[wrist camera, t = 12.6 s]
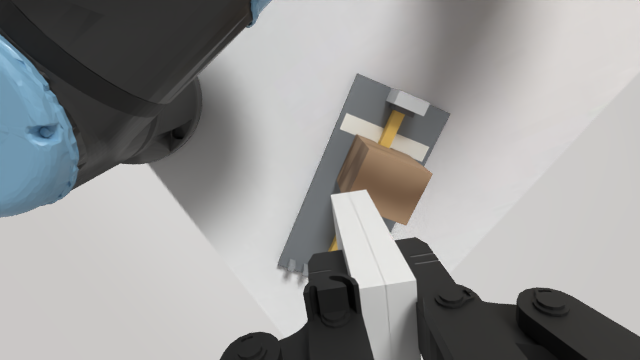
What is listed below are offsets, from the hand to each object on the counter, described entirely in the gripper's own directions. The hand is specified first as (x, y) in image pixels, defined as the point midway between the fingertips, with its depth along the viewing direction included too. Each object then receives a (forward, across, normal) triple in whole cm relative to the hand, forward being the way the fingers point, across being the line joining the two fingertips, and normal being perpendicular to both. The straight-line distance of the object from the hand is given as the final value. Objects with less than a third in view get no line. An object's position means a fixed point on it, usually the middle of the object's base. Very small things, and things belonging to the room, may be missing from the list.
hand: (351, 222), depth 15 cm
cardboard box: (+27, +6, -6) cm, 29 cm away
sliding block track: (+28, +4, -10) cm, 30 cm away
